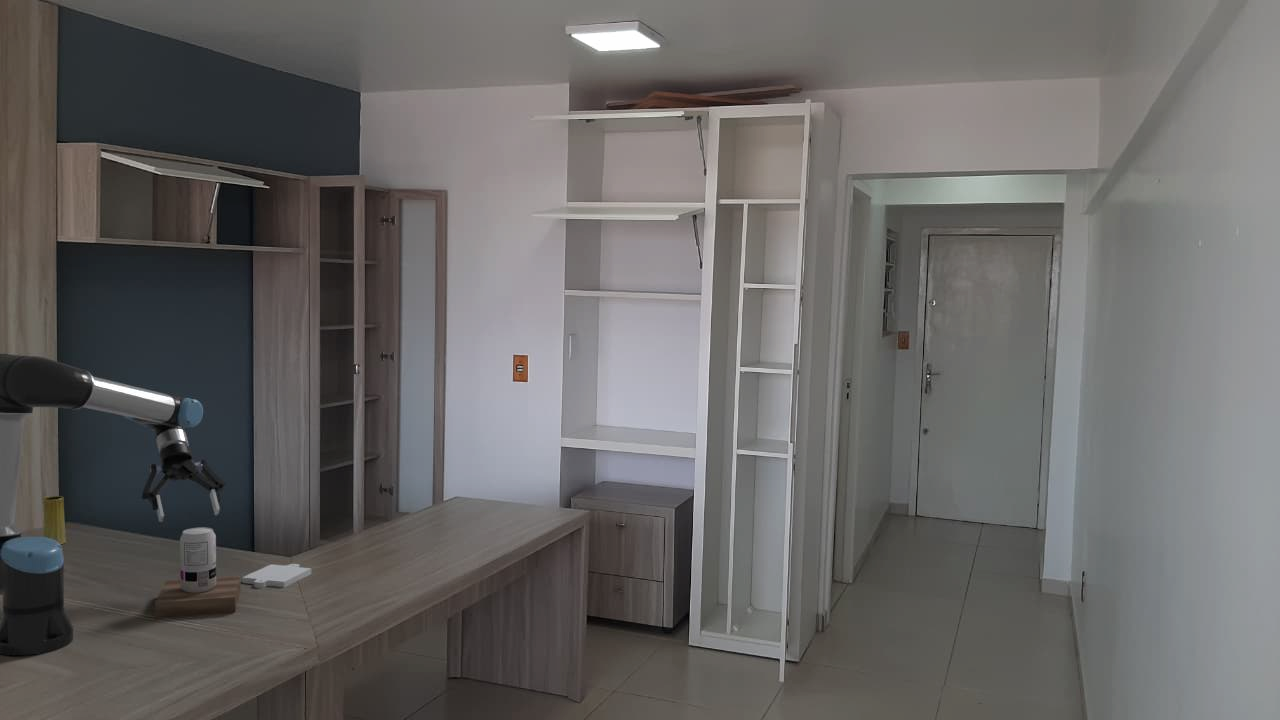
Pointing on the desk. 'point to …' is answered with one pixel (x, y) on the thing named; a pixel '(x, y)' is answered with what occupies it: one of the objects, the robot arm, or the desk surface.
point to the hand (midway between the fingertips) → (190, 515)
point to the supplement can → (198, 560)
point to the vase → (54, 519)
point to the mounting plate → (276, 575)
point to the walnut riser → (198, 599)
